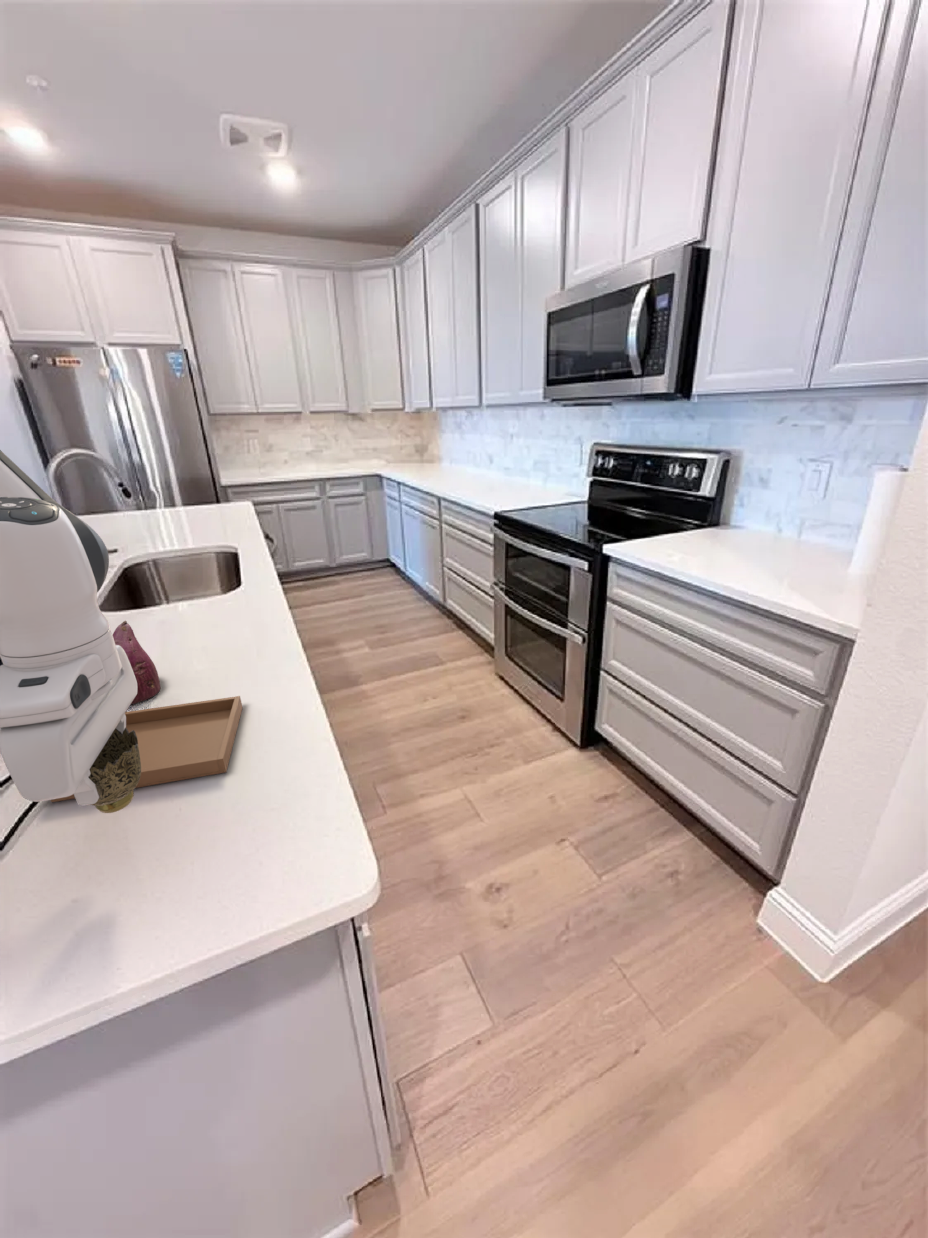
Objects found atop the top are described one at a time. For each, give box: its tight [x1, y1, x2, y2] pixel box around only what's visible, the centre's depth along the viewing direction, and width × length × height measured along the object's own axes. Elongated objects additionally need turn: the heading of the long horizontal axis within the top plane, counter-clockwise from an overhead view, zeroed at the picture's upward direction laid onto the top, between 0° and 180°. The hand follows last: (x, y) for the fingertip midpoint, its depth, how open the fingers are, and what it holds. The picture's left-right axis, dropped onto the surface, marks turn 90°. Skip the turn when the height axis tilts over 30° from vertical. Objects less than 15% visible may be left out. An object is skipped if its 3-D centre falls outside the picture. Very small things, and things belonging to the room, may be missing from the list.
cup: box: [89, 728, 141, 814], centre depth 56 cm, size 8×7×8 cm
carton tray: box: [50, 695, 243, 803], centre depth 77 cm, size 22×18×2 cm
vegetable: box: [112, 620, 161, 706], centre depth 92 cm, size 10×10×15 cm
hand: (106, 774), depth 56 cm, fingers closed on cup, 7 cm apart
